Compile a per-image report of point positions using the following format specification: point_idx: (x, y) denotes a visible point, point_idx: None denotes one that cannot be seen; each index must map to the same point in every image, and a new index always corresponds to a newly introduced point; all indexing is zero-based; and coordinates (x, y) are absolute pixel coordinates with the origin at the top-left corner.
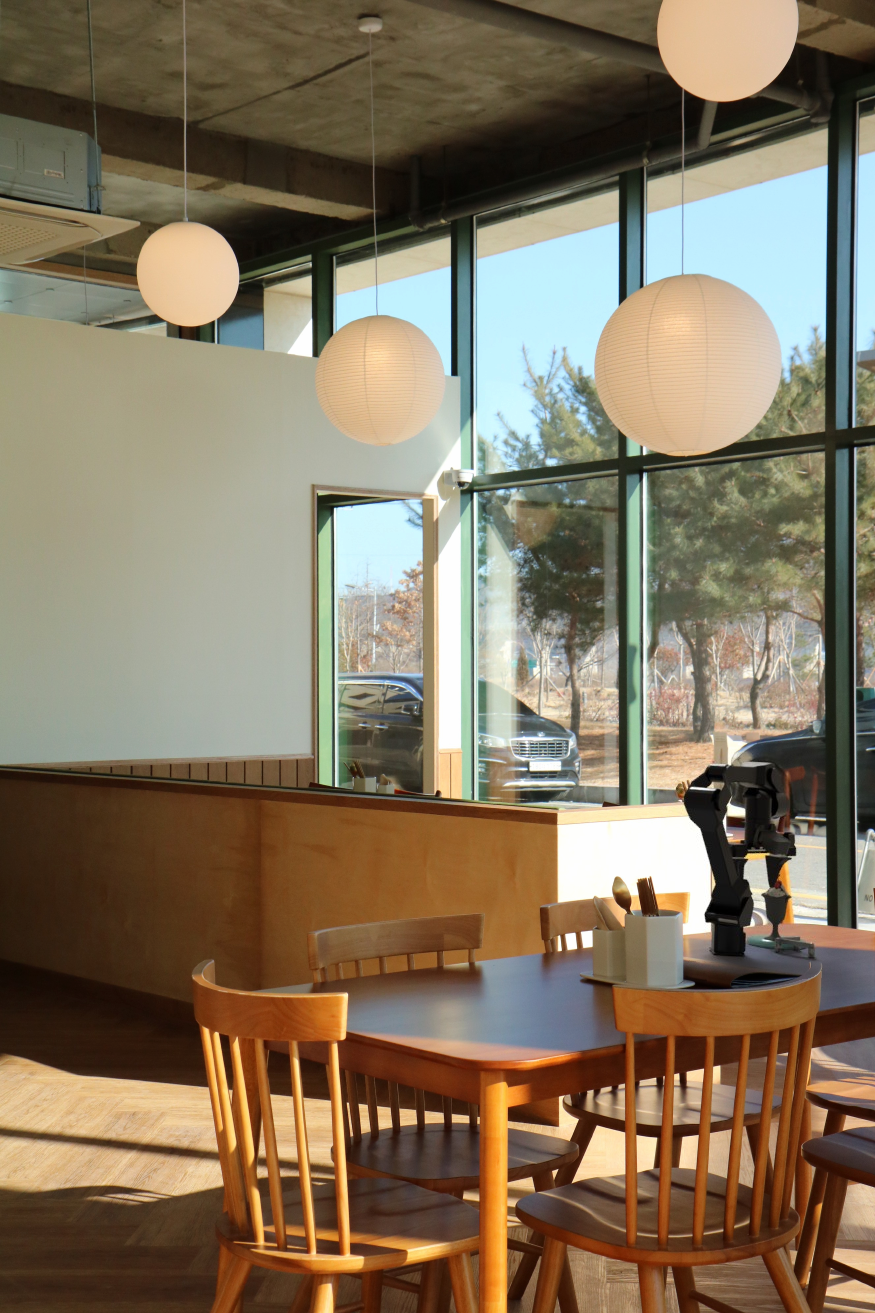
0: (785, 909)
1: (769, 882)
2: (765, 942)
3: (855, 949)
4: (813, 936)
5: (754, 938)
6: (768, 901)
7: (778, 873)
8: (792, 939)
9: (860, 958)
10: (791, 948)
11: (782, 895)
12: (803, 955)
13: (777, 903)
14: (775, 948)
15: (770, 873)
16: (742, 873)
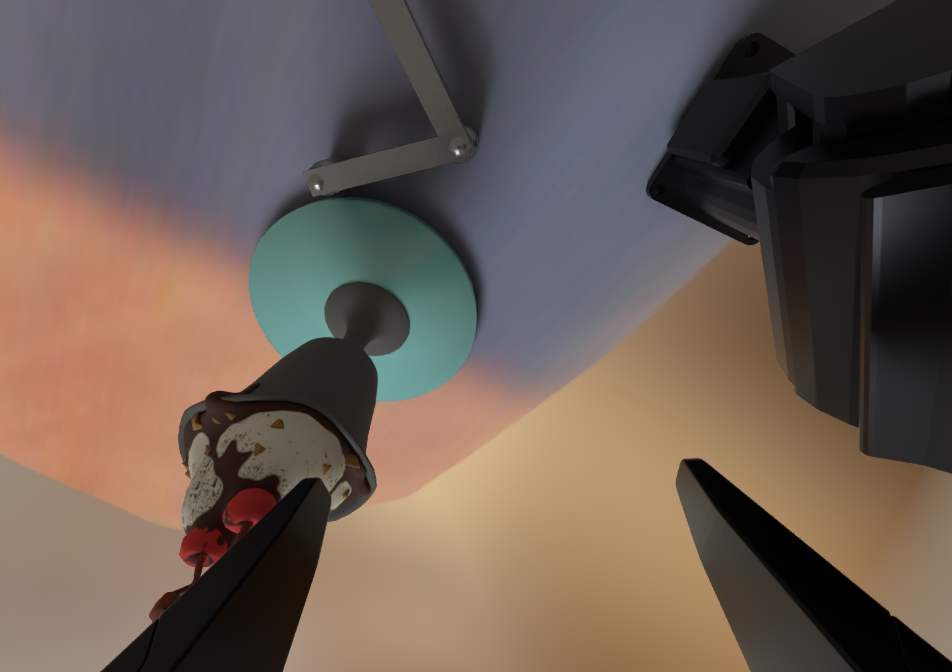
0: (273, 367)
1: (316, 539)
2: (447, 270)
3: (36, 152)
4: (169, 404)
5: (440, 350)
6: (359, 428)
7: (166, 621)
8: (360, 156)
9: None
10: (357, 197)
11: (254, 419)
12: (371, 23)
13: (317, 388)
14: (477, 140)
15: (262, 644)
16: (866, 640)
